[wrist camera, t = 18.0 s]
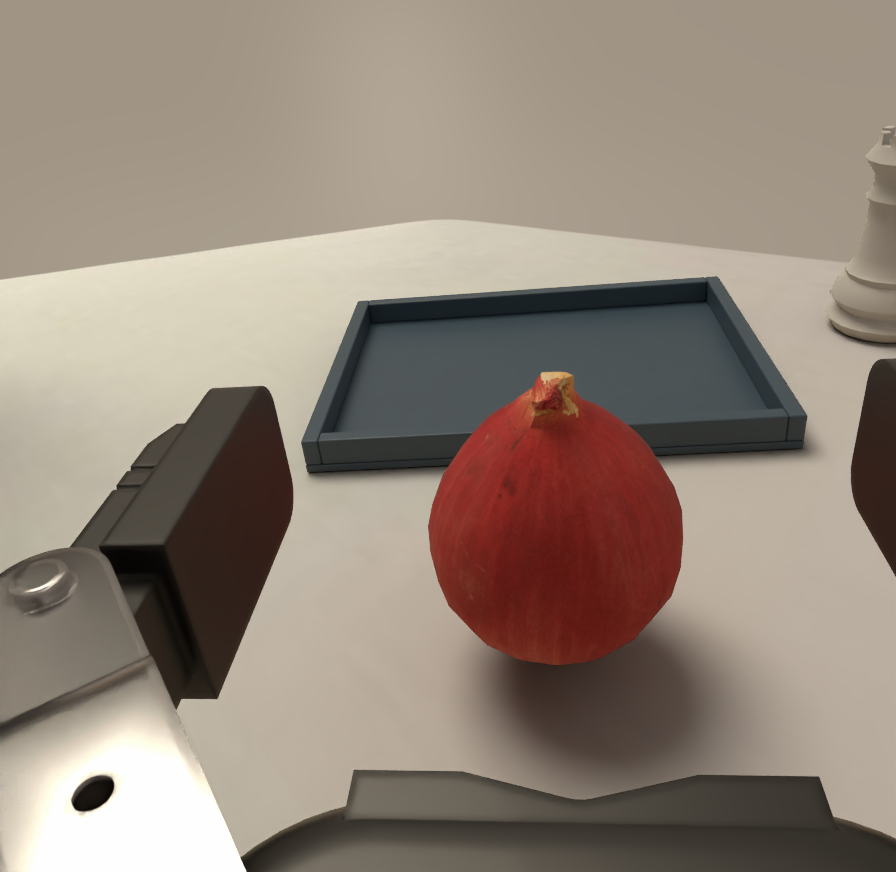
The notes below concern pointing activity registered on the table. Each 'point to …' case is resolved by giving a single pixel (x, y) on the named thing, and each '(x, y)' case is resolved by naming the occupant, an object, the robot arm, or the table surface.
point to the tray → (550, 350)
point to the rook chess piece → (872, 258)
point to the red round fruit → (556, 528)
